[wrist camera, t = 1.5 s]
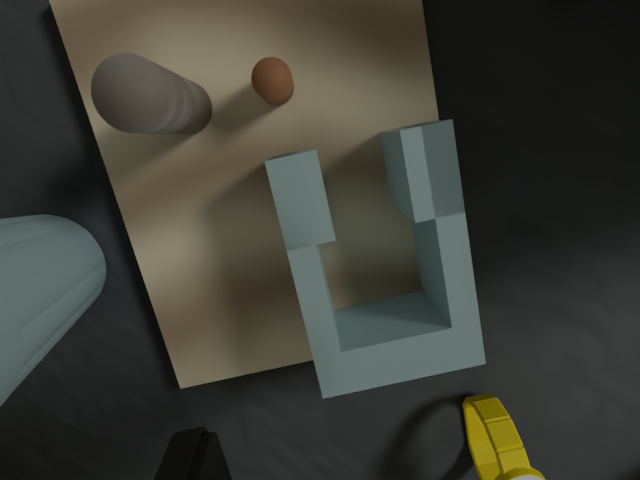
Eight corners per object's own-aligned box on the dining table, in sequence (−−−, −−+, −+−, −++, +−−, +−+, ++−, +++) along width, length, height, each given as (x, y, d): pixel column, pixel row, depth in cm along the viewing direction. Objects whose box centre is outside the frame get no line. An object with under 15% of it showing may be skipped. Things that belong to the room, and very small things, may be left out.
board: (460, 317, 24) (531, 399, 16) (186, 376, 24) (133, 483, 17) (401, -82, 19) (463, -223, 12) (60, -2, 19) (-93, -90, 12)
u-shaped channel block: (450, 319, 23) (485, 363, 18) (319, 348, 23) (322, 398, 18) (420, 123, 20) (452, 119, 16) (273, 156, 20) (264, 161, 16)
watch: (445, 382, 25) (486, 447, 19) (491, 373, 25) (545, 435, 19) (460, 470, 26) (503, 557, 20) (504, 461, 26) (560, 545, 20)
